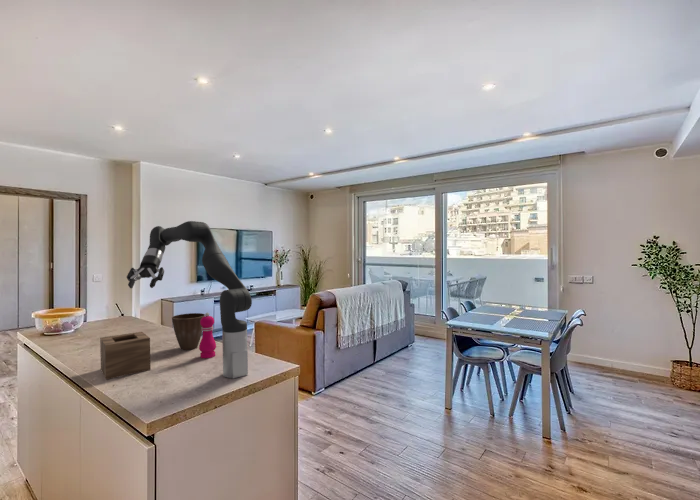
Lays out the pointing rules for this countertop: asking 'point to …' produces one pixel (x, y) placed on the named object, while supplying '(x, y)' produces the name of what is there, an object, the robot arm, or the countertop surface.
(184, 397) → the countertop surface
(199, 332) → the plant pot
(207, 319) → the pepper mill
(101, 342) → the wooden box
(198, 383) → the countertop surface
